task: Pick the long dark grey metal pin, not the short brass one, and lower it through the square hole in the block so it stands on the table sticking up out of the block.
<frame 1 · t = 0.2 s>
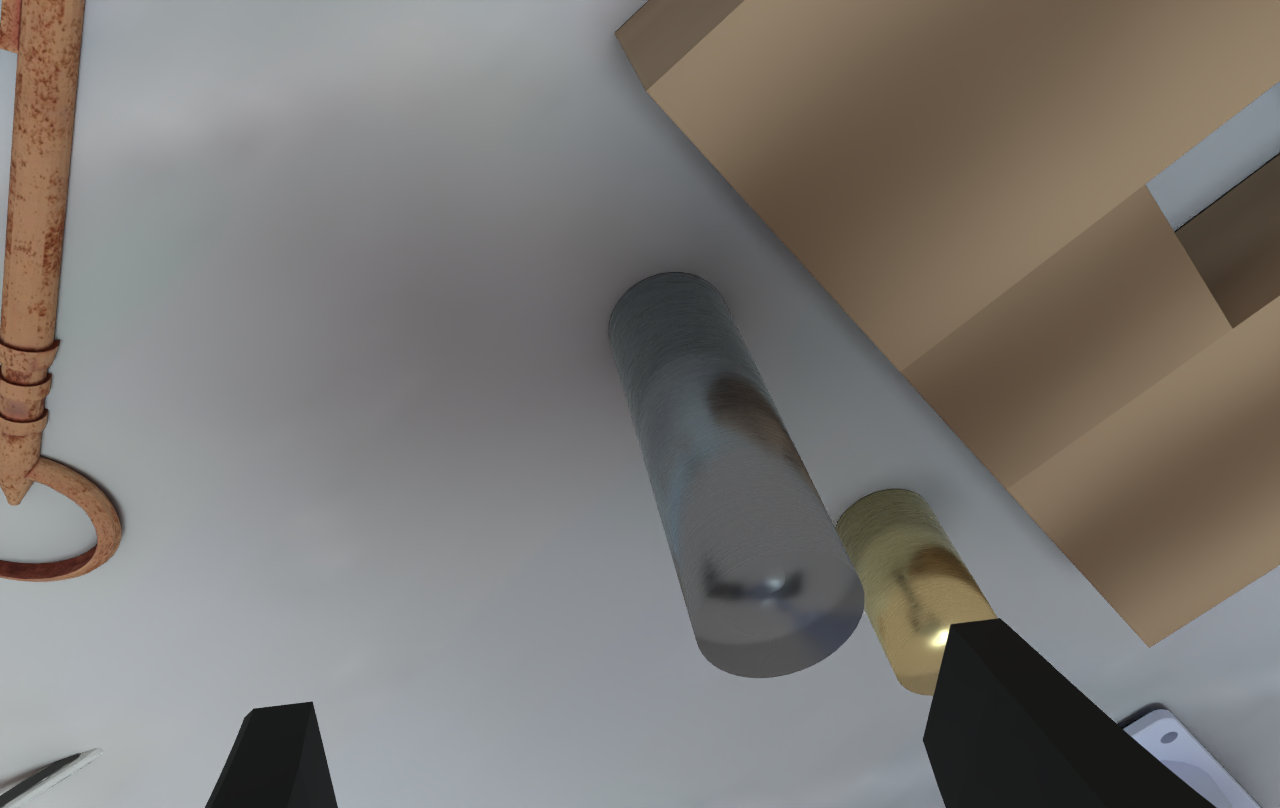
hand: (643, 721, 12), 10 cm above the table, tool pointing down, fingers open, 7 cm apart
long pin: (668, 326, 21), on the table
short pin: (882, 529, 26), on the table
hole block: (1191, 123, 21), on the table
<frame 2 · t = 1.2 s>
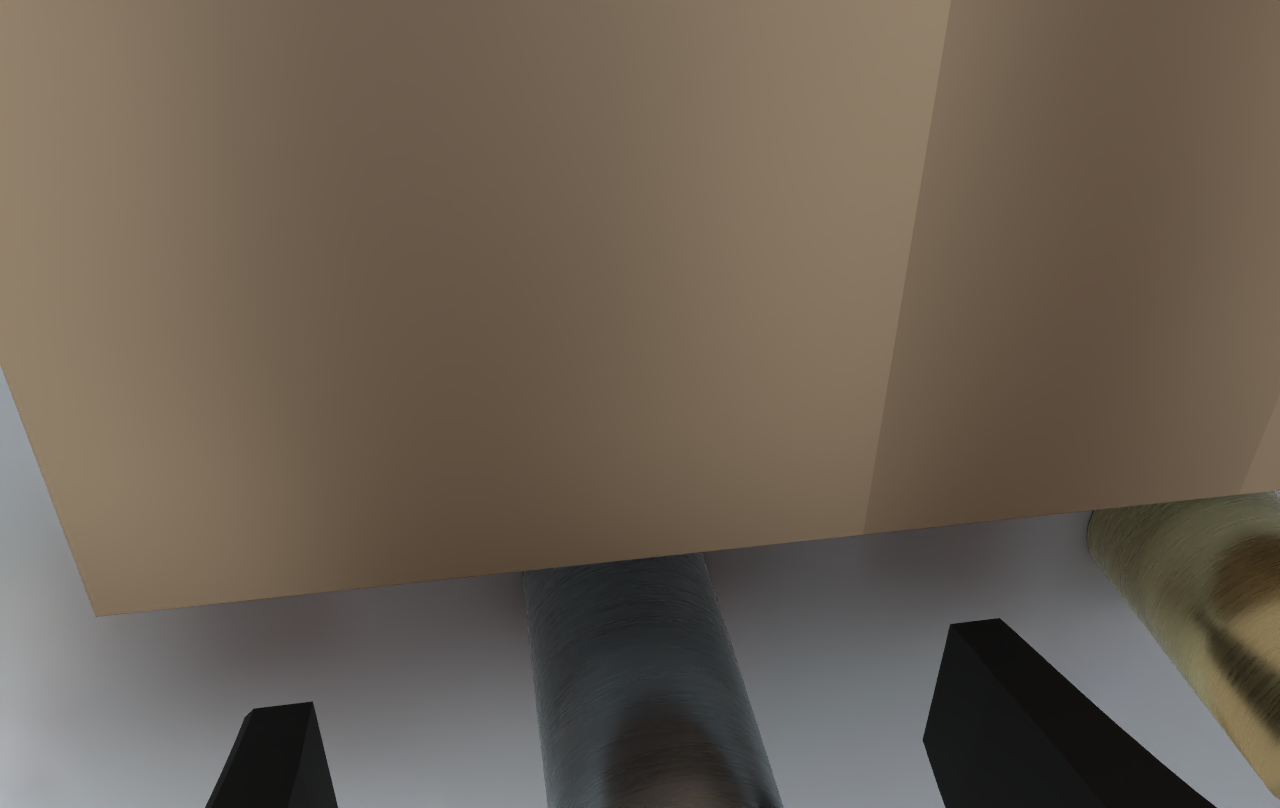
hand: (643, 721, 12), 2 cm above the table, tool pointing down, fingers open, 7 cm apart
long pin: (613, 573, 14), on the table
short pin: (1167, 512, 15), on the table
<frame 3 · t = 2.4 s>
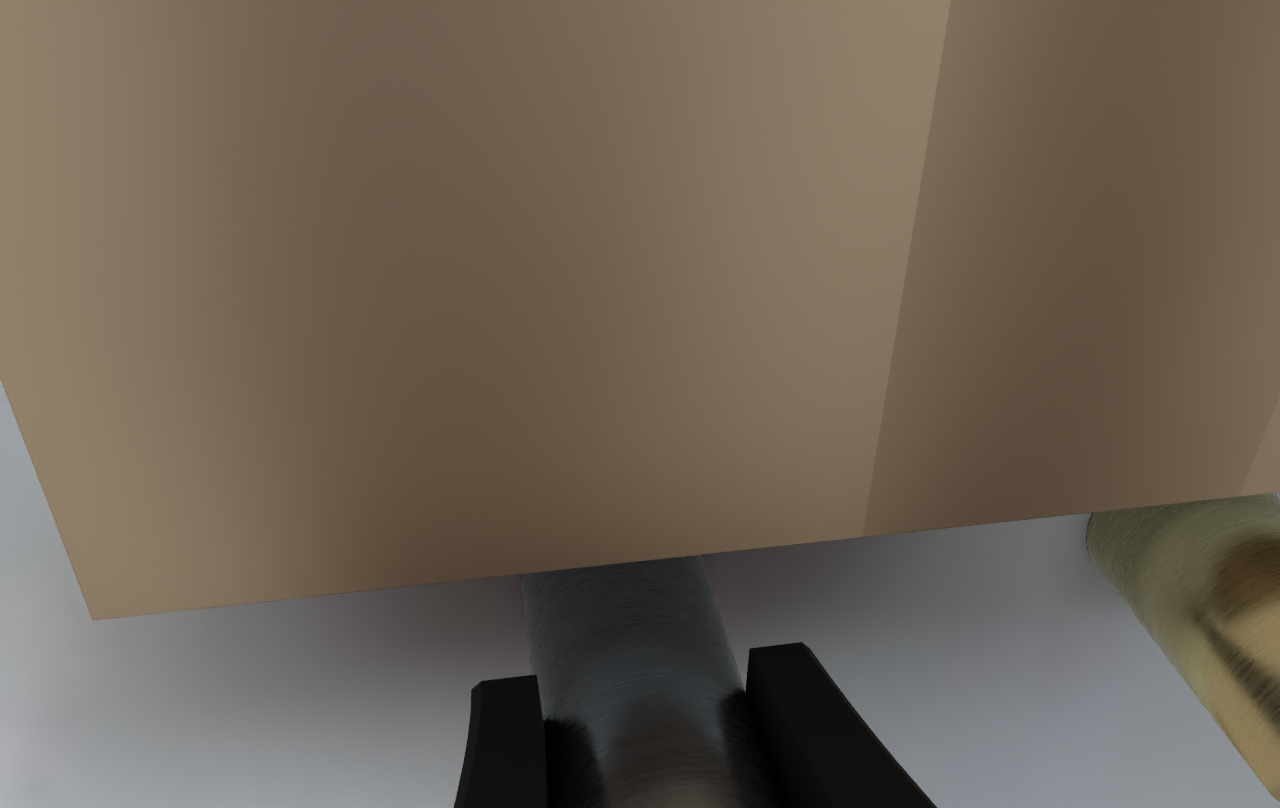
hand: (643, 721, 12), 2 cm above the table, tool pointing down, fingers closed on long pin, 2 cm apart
long pin: (612, 575, 14), on the table, touching gripper
short pin: (1166, 514, 15), on the table
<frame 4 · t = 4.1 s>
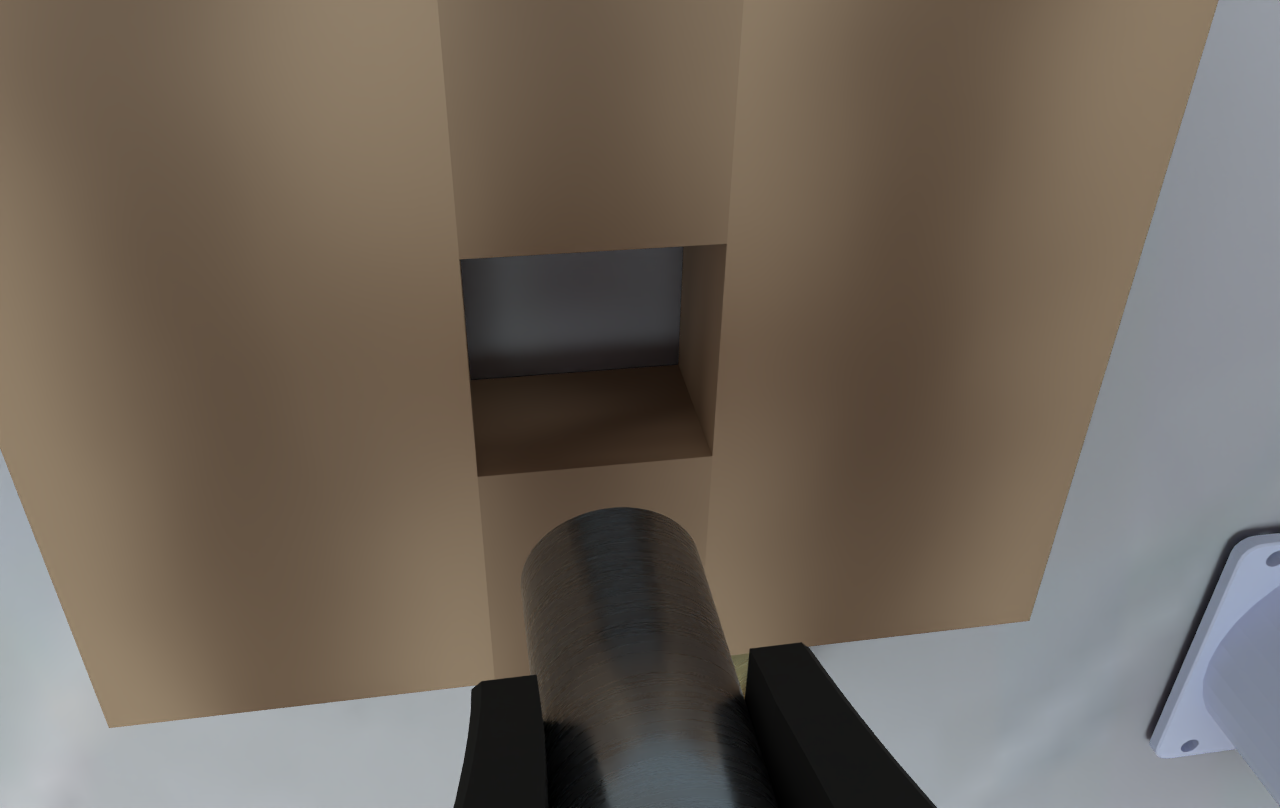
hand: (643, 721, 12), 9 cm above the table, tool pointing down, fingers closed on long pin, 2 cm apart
long pin: (611, 577, 14), point 7 cm above the table, touching gripper
short pin: (747, 642, 26), on the table
hole block: (574, 279, 20), on the table
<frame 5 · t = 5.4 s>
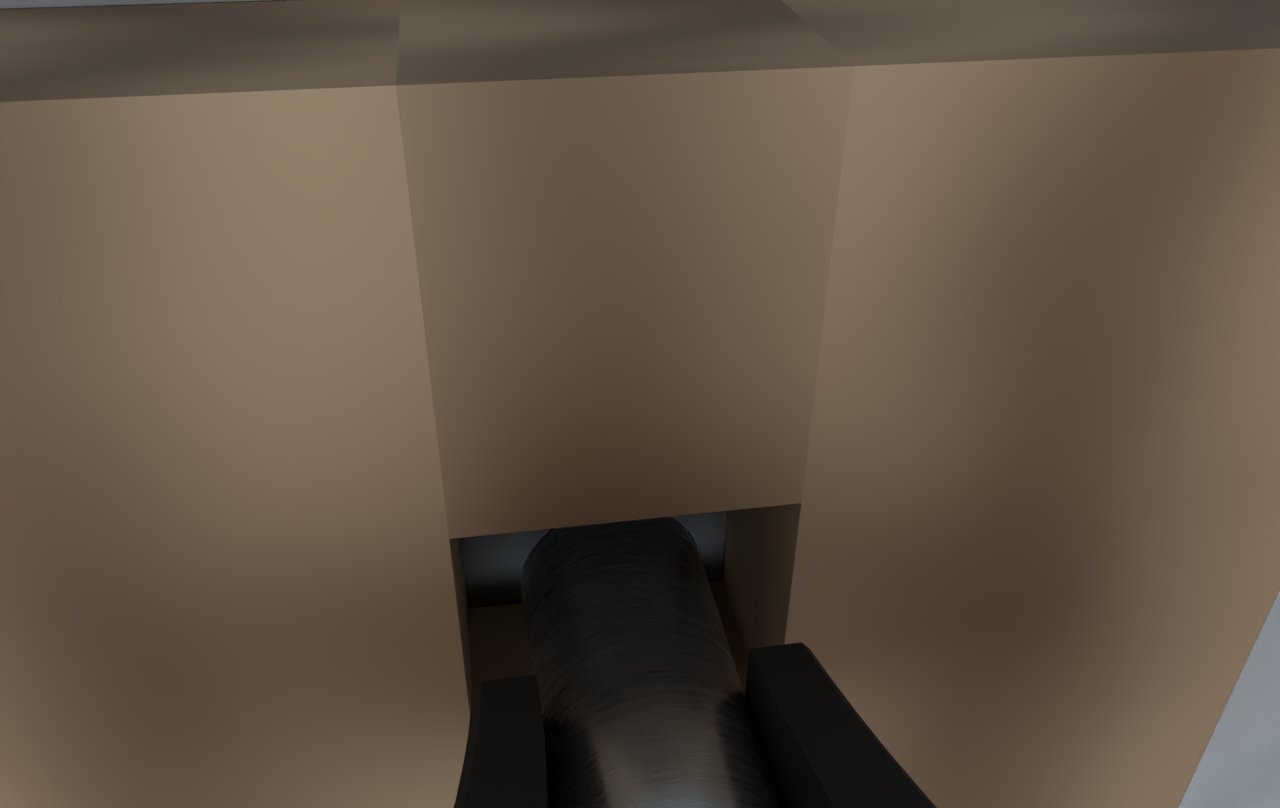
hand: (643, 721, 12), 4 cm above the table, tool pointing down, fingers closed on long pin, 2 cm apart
long pin: (612, 576, 14), point 2 cm above the table, touching gripper
hole block: (596, 493, 16), on the table
when the fingers open (4 cm above the table, at t = 6.2 s): long pin drops 1 cm, resting in hole block.
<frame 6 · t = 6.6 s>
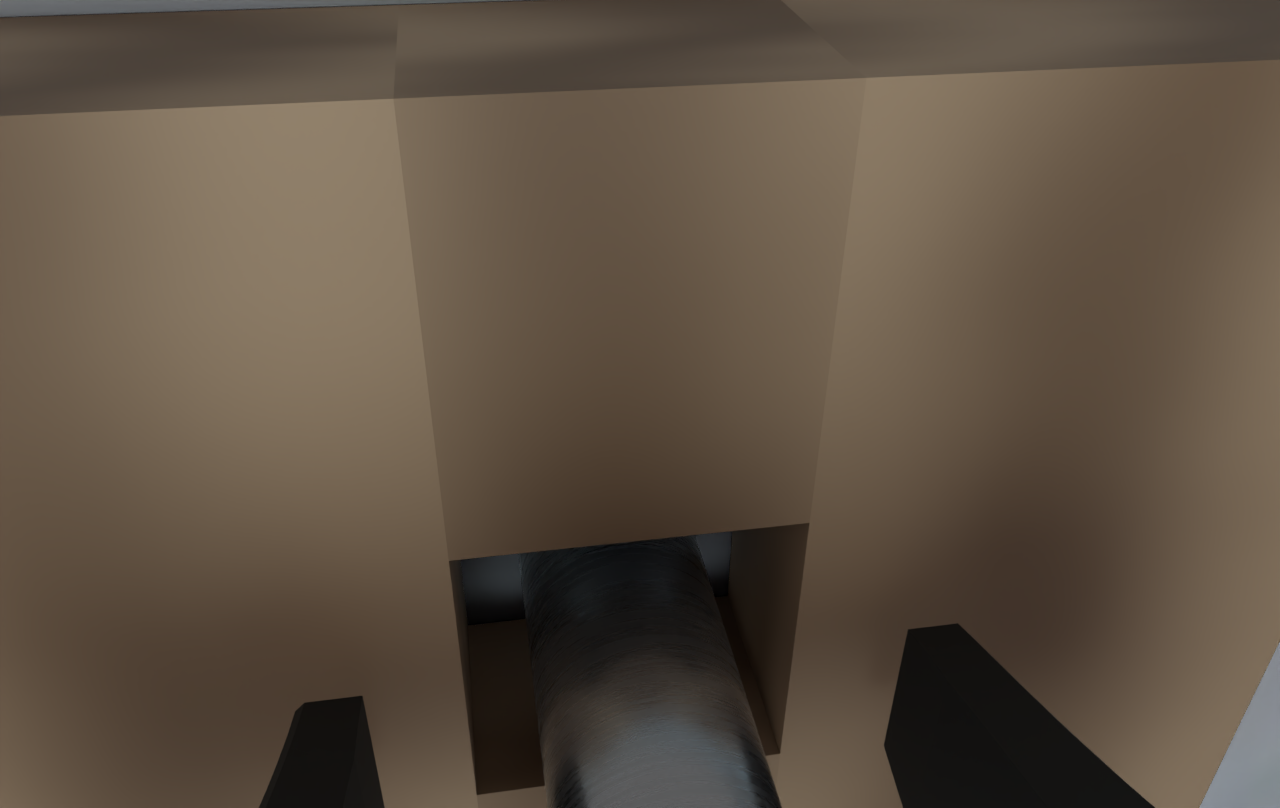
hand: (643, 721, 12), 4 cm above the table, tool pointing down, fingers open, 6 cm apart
long pin: (598, 510, 15), resting in hole block
hole block: (598, 509, 15), on the table
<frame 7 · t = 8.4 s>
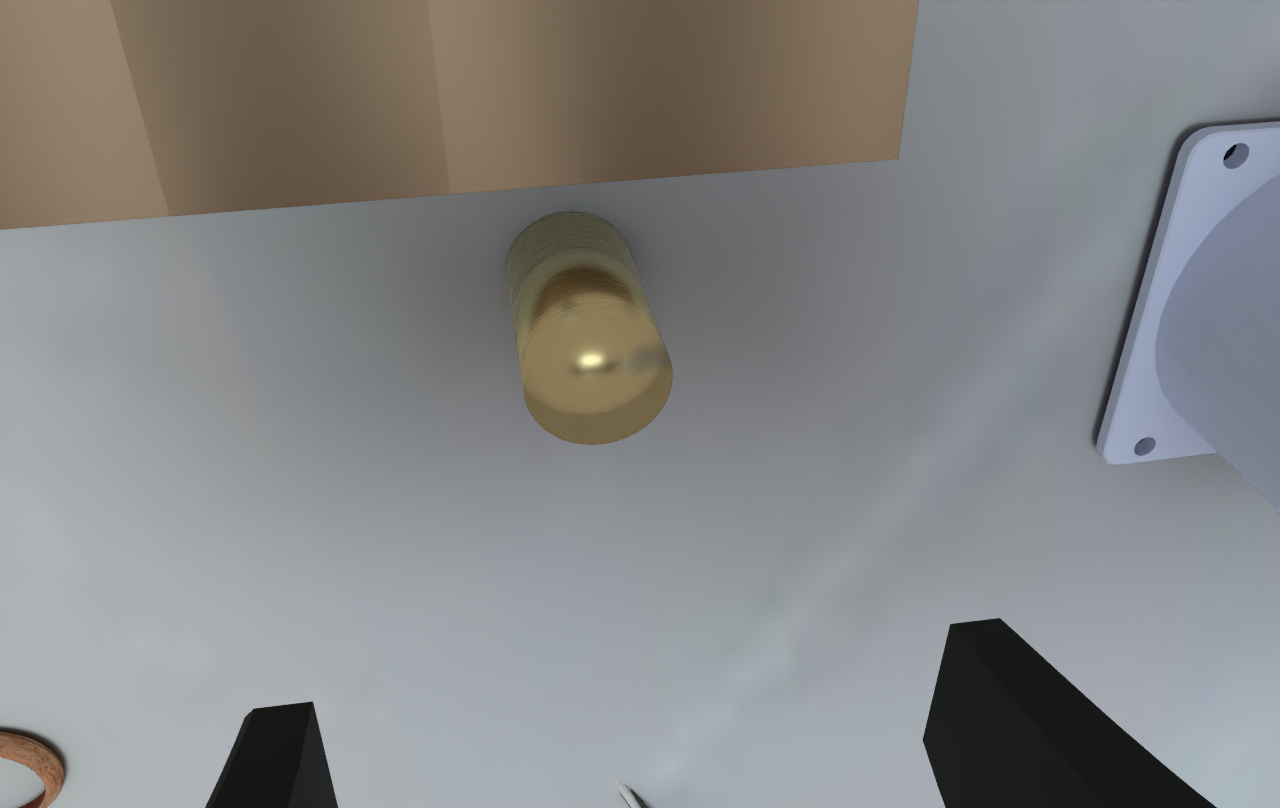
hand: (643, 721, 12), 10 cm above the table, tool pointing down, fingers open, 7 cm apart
short pin: (569, 270, 21), on the table
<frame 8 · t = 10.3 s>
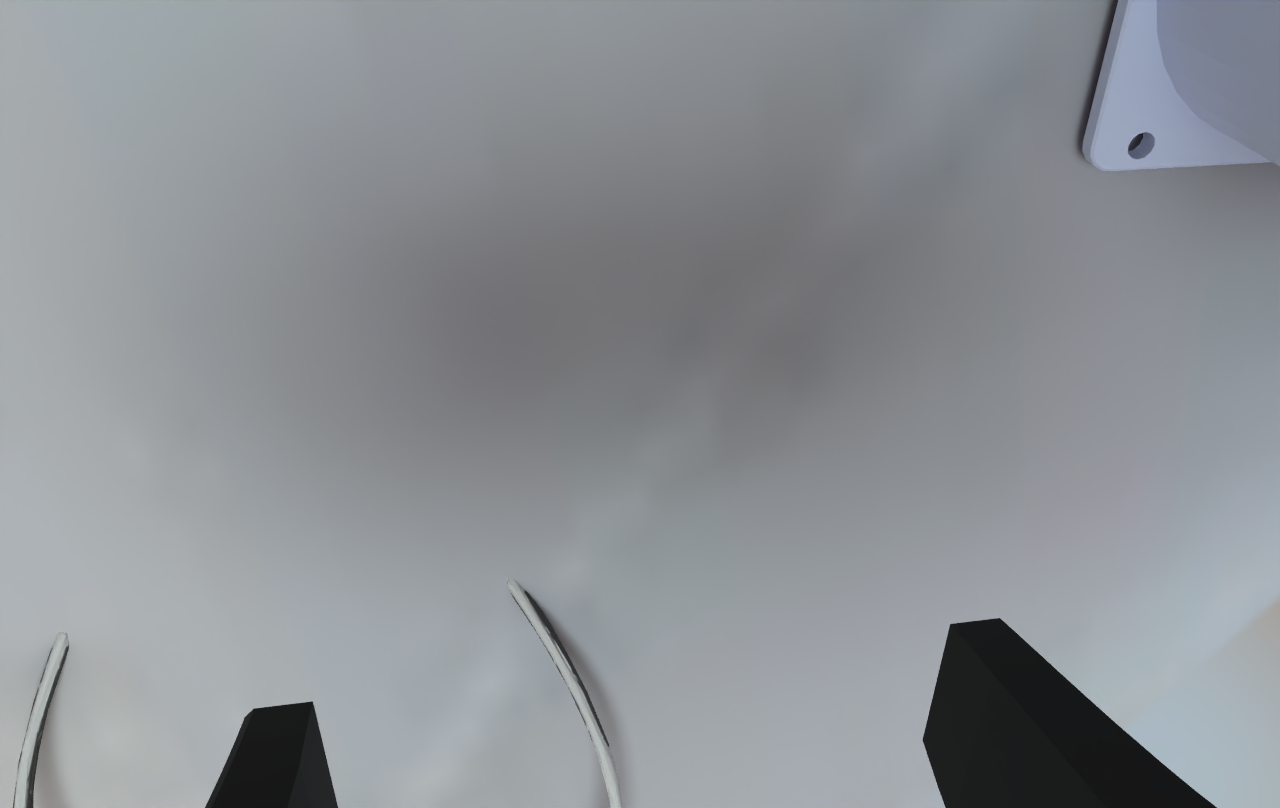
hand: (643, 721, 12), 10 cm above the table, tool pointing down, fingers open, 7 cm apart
sunglasses: (348, 791, 29), on the table
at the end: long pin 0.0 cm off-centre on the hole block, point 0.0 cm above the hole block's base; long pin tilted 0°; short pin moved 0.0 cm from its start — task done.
